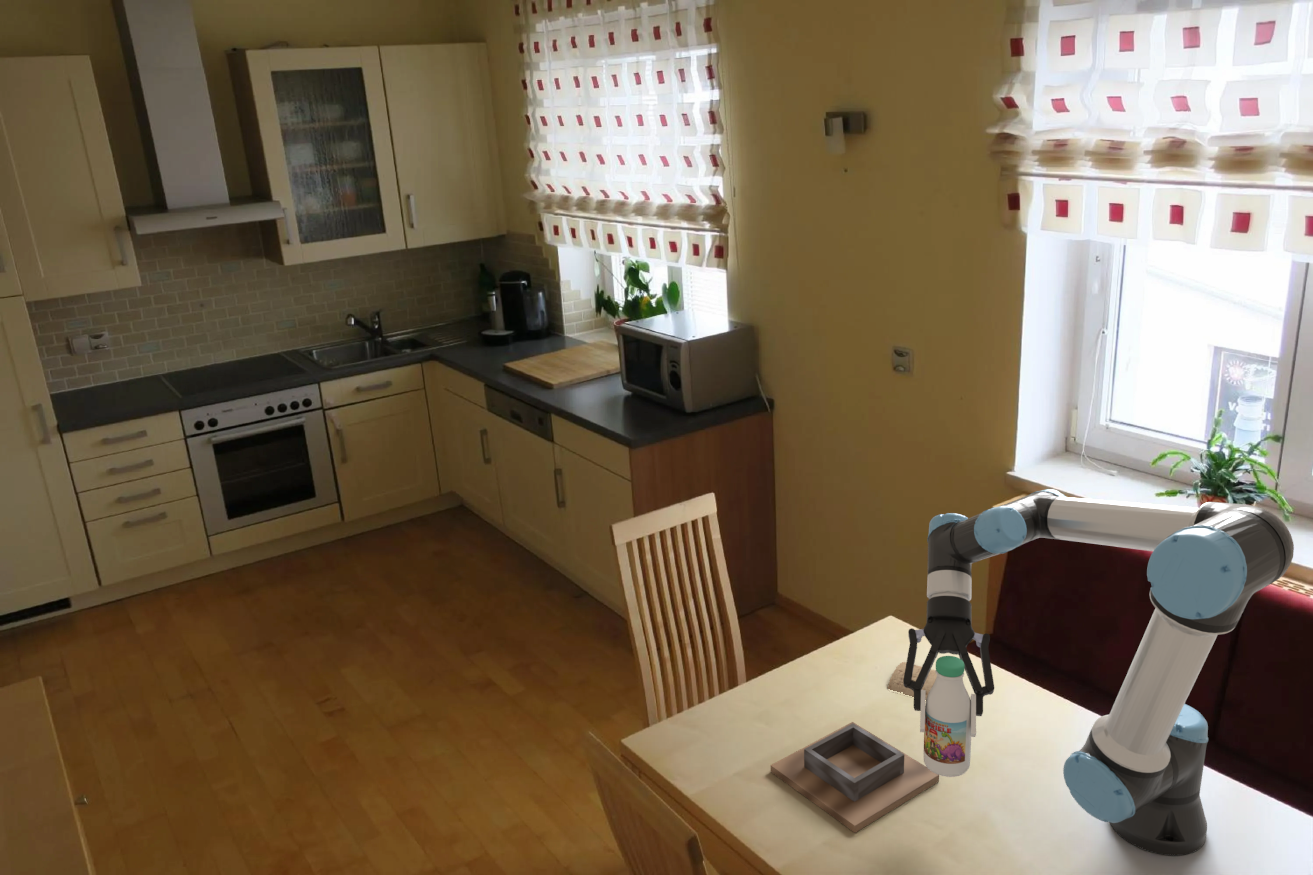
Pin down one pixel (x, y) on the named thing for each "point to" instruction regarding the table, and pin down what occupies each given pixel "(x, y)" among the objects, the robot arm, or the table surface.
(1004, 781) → the table surface
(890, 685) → the clay tablet
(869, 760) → the bottle stand
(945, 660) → the milk bottle
